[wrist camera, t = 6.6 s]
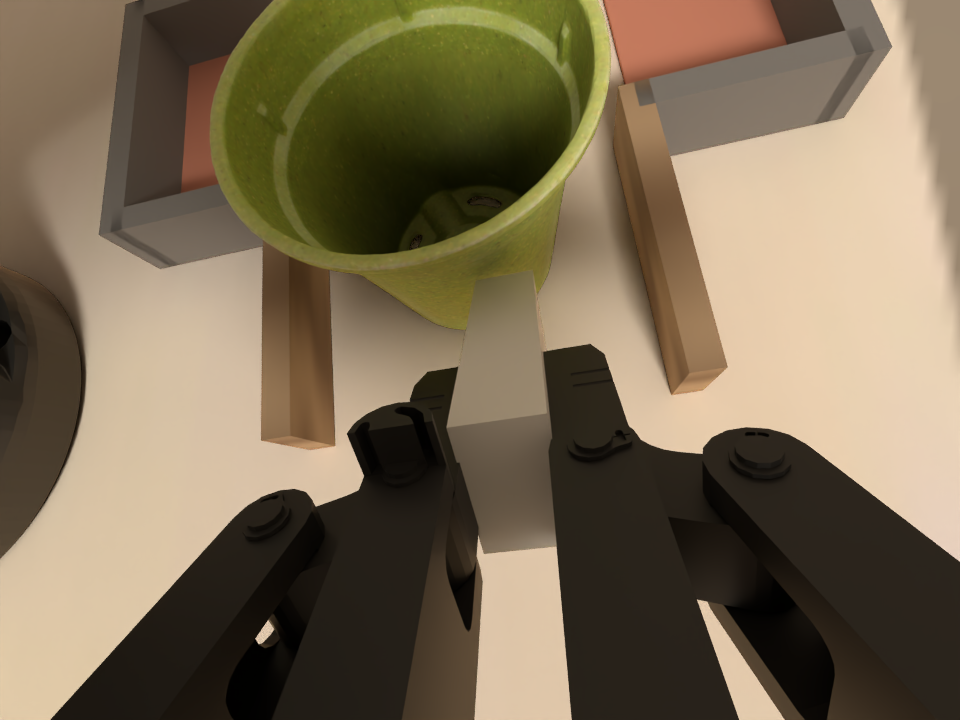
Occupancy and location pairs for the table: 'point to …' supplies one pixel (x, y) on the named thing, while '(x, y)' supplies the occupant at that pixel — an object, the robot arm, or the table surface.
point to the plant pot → (411, 136)
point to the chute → (662, 252)
